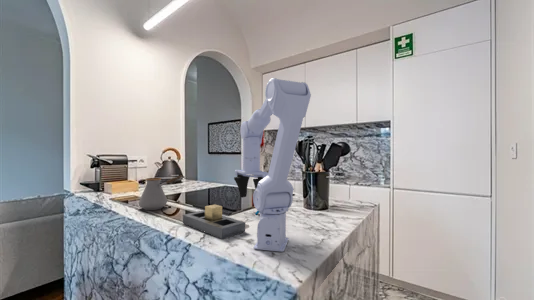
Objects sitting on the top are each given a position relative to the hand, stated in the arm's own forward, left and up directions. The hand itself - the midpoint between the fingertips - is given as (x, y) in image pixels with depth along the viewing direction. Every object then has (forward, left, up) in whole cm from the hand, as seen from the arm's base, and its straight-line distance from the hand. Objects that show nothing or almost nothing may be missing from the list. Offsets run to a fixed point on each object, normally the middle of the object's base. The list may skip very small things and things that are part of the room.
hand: (251, 198), depth 84 cm
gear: (+15, -1, -10) cm, 18 cm away
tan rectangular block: (-4, +12, -10) cm, 16 cm away
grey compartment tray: (-4, +12, -9) cm, 16 cm away
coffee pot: (+14, +44, -10) cm, 47 cm away
